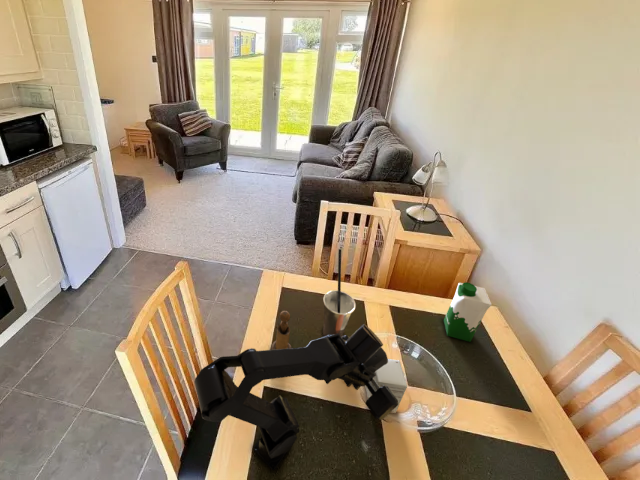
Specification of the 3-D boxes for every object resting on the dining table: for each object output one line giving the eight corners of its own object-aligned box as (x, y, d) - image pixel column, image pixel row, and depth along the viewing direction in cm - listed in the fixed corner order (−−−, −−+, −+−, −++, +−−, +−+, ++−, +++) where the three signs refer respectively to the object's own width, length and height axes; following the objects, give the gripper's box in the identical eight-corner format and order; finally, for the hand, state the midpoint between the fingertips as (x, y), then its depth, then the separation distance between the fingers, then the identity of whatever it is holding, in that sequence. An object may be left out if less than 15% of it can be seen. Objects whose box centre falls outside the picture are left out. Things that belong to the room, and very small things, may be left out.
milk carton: (440, 317, 115) (458, 275, 106) (468, 324, 113) (489, 282, 103) (444, 337, 108) (464, 294, 98) (474, 345, 105) (498, 302, 96)
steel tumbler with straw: (326, 314, 115) (339, 247, 101) (354, 333, 108) (372, 265, 94) (308, 331, 108) (319, 262, 94) (337, 353, 101) (353, 282, 87)
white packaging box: (363, 383, 92) (372, 355, 87) (390, 387, 92) (400, 359, 86) (368, 409, 86) (378, 381, 80) (396, 414, 85) (408, 386, 79)
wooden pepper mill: (290, 364, 97) (295, 324, 89) (269, 360, 98) (272, 319, 90) (292, 346, 103) (297, 306, 94) (272, 342, 104) (276, 302, 95)
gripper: (402, 381, 65) (426, 393, 74) (347, 313, 80) (373, 330, 89) (364, 417, 66) (393, 425, 75) (317, 343, 81) (345, 357, 90)
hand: (375, 379), depth 82 cm, fingers open, 9 cm apart
